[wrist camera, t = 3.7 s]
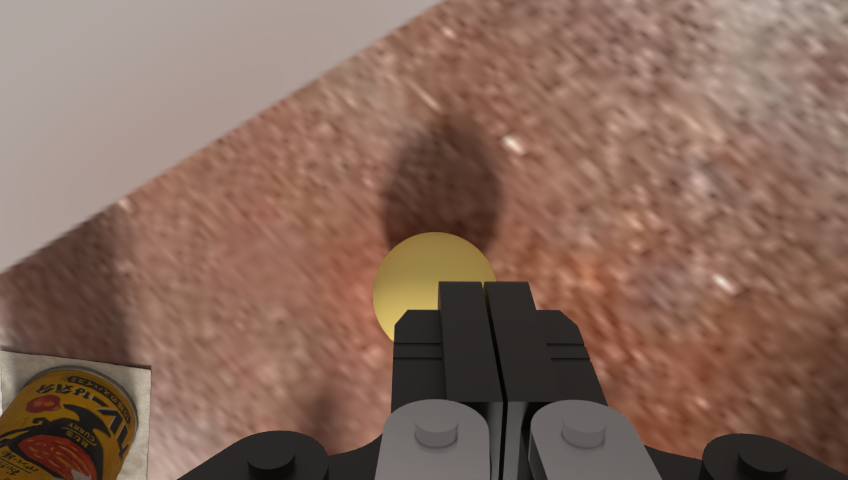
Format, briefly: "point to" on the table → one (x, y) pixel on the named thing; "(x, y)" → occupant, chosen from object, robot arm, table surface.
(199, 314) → the table surface
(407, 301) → the ball
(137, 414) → the condiment
